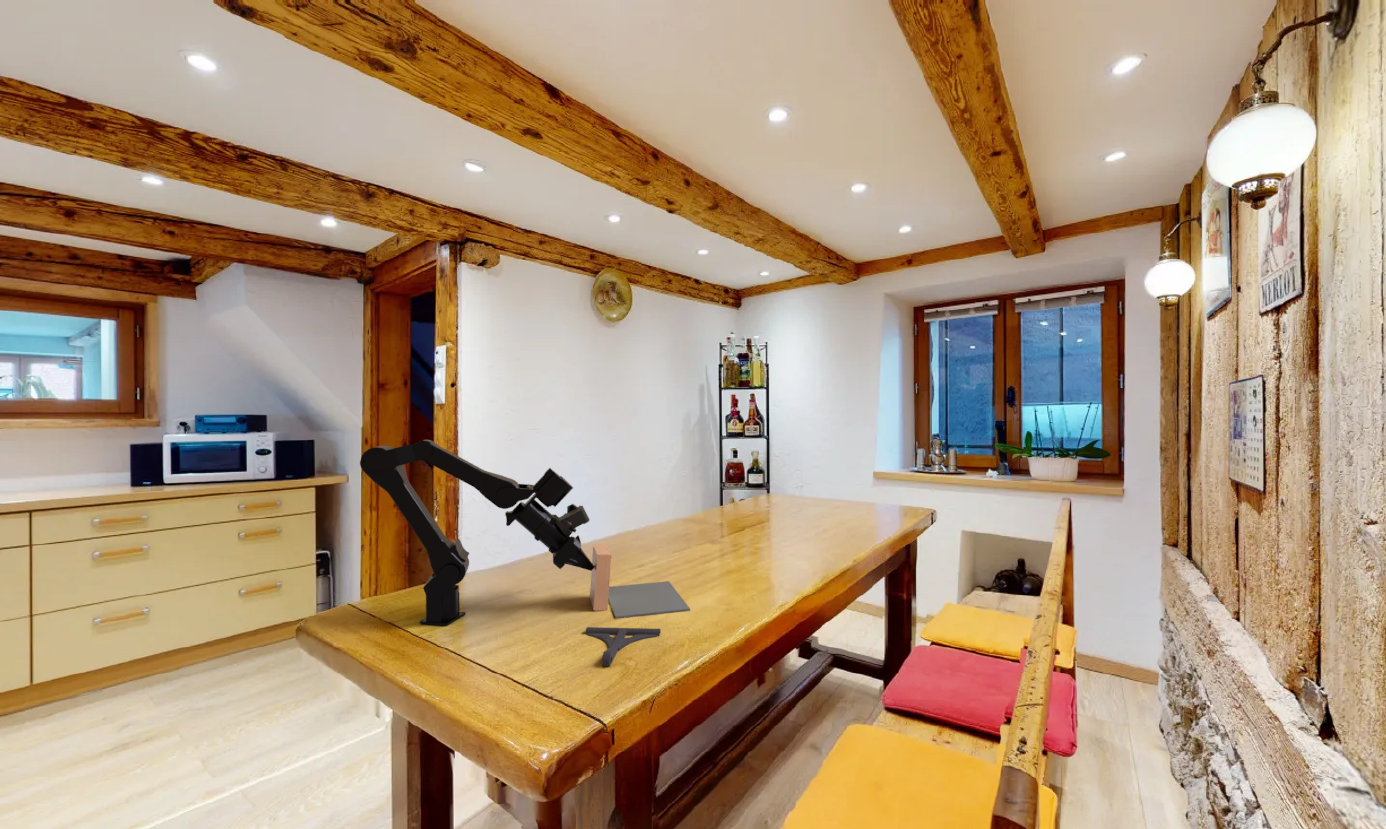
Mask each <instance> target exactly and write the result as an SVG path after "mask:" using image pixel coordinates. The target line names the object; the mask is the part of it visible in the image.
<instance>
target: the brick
mask: <svg viewBox="0 0 1386 829" xmlns="http://www.w3.org/2000/svg"><path fill="white" fill-rule="evenodd" d="M591 558H592V559H591V563H592V564H593V565H594V569H593V570H592V571H591V573H590V574H591V575H590V589H589V599H590V603H591V605H592V609H593V611H608V610H609V609H608V608H609V600H608V597H609V587H610V581H611V580H610V579H611V565H612V563H611V562H612V553H611V552H610V549H609V548H608V546H607V544H593V545H592V557H591Z"/></svg>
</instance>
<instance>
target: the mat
mask: <svg viewBox="0 0 1386 829" xmlns="http://www.w3.org/2000/svg"><path fill="white" fill-rule="evenodd" d="M608 599H609V600H608V603H609V605H610V607H612V608H611V610H612V612H613V615H614V618H615V619H616V618H617V619H625V618H624V617H626V618H632V617H633V616H634V617H633V618H635V617H645V616H653V615H662V614H670V613H671V614H672V613H678V612H679V613H681V612H688V611H691V607H690V606H689V605H688V604H687V603H686V601H685V600H684V599H683V597H682V595H680V594H679V592H678V590H676V588H675V587H674V586H673V584H672V583H671V582H670V580H668V581H667V580H666V581H655V582H647V583H646V582H645V583H636V584H623V585H615V586H614V585H613V586H609V597H608Z"/></svg>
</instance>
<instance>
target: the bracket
mask: <svg viewBox="0 0 1386 829" xmlns="http://www.w3.org/2000/svg"><path fill="white" fill-rule="evenodd" d="M661 632H662V631H661V628H646V627H645V628H643V627H642V628H641V627H639V628H638V627H602V626H601V627H596V626H586V629H585V635H587V636H591V637H594V638H596V639H599V640H601V641H603V642H604V643H606V645H607V646H608V648H607V649H606V650H604V651H603V654H602V661H601V664H602V665H601V666H602V667H603V668H610V667H611V665H612V663H613V661H614V659H615V657H616V655H617V654H618V652H619V651H620V650H622V649H623V648H624V647H627V646H628V645H630V644H632V643H635V642H638V641H642V640H646V639H652V638H657V637H660V634H661ZM613 636H615V637H613ZM626 636H629V637H626Z"/></svg>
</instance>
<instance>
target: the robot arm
mask: <svg viewBox="0 0 1386 829" xmlns="http://www.w3.org/2000/svg"><path fill="white" fill-rule="evenodd" d="M418 461H424V462H426V463H427V464H430V465H432V466H434V467H435V468H437V469H440V471H443V472H445V473H446V474H449V475H450V476H452V477H454V478H456V479H457V480H459V481H462V482H463V483H466V484H467V485H469V486H471V487H472V488H474V489H475V490H477V491H478V492H479V493H480V494H481V495H482V496H483V497H484V498H485V499H487V501H489V502H490V503H492V504H493V505H494V506H496V507H497V508H499V509H503V510H506V509H511V508H513V507H514V506H515V507H514V508H513V509H512V510H509V511H508V510H506V511H505V514H504V515H505V517H506V523H505V525H506V527H509V526H511V524H513V522H514V521H516V522H517V523H518V524H520V525H521V526H522V527H523V528H524V529H525V530H527V531H528V532H529V533H530V534H531V535H533V537H534V540H535V541H537V542H539V541H540V543H542V544H543V545H544V546H545V547H547V548H548V552H549V553H551V554H552V563H553V565H555V566H556V567H557V568H558V569H560V570H561V569H562V568H563V567H564V566H565V565H568V566H571V567H572V566H573V567H577V568H580V569H584V570H586V571H592V570H593V569H594V565H593V564H592V560H590V559H589V557H588V556H587V555H586V553H585V552H584V550H583V549H582V541H581V538H580V536H579V534H577V536H571V535H572V534H573V533H574V534H575V533H576V531H577V528H578V527H580V526H582V525H585V524H588V523H589V522H590V518H589V516H588V514H587V511H586V509H585V508H584V506H583V505H578V506H577V505H576V504H574V503H571V504H569V505H567V507H566V510H567V511H566V512H565V513H564V514H563V515H561V516H558V515H557V514H552V513H551V512H550V511H548V510H547V509H546V508H551V507H554V508H556V507H557V506H558V505H559V503H561V502H562V500H563V499H564V498H566V497H567V495H568V494H569V493H570V492H571V491H572V490H573V489H574V487H573V486H572V484H571V483H569V481H567V479H566V478H564V477H563V476H562V475H559V474H558V473H557V472H556V471H554V470H553V469H552V468H550V467H549V468H548V469H547V470H546V471H545V472H544V473H543V475H542V476H541V478H539V479H538V480H537V481H536V482H535V484H529V483H528V484H527V483H526V484H525V483H519V482H518V481H516V480H515V479H514V478H511V477H507V476H503V475H501V474H497V473H494V472H491V471H487V470H484V469H482V468H480V467H479V466H478V465H475V464H473V463H471V462H470V461H468V460H466V459H464V458H463V457H460V456H458V455H457V454H456V453H455V454H454V453H453V452H451V451H449V450H447V449H446V448H443V447H442V446H440V445H438V444H437V443H436V442H435V441H433V440H431V439H423V440H420V441H419V440H418V441H417V442H415V443H410V444H406V445H403V446H398V447H393V446H389V445H378V446H375V447H371V448H368V449H367V450H365V451H364V452H363V453H362V455H361V457H360V461H359V467H360V468H361V471H363V472H364V473H365V475H366V476H368V478H370V480H371V481H372V482H374V484H376V485H377V486H379V487H380V488H381V489H382V490H384V491H385V492H387V494H388V495H389V497H390V498H391V500H392V501H393V503H394V504H395V505H396V507H397V508H398V510H399V511H400V513H401V514H402V516H403V517H404V519H405V520H406V522H407V523H408V524H409V526H410V528H411V529H412V531H413V532H414V533H415V535H416V537H417V538H418V540H419V541H420V542H421V544H422V546H423V547H424V548H425V550H426V553H427V557H428V560H429V564H430V568H431V569H432V571H433V573H432V574H431V575H430V577H429V578H428V580H427V581H426V582H425V584H424V586H423V588H422V589H423V592H424V594H425V617H424V618H422V619H420V620H419V624H423V625H424V624H425V625H435V626H436V625H437V626H448V625H451V624H452V623H454V622H455V621H457V620H459V619H460V618H462V617H464V616H466V611H460V591H459V590H460V589H459V588H460V586H459V584H460V583H461V582H462V581H463V580H464V578H465V576H466V574H467V572H468V570H469V566H470V559H469V555H470V552H469V551H467V550H466V549H465V548H464V546H463V544H462V542H461V540H460V538H457V539H456V540H454V542H453V541H452V540H451V539H449V538H448V537H447V536H446V535H445V534H444V532H443V530H442V529H441V528H440V526H439V524H438V523H437V521H435V518H434V517H433V516H432V514H431V513H430V512H429V510H428V508H427V507H426V505H425V504H424V502H423V501H422V499H421V498H420V496H419V494H418V493H417V492H416V490H415V489H414V487H413V486H412V484H411V483H410V481H409V478H408V475H407V471H406V466H405V465H407V464H411V463H414V462H418ZM536 499H537V500H538V501H539V502H538V501H537V500H536ZM525 500H527V501H526V502H525V503H524V502H522V501H525ZM518 502H519V503H518ZM540 503H541V504H543V505H544V506H545V507H546V508H545V507H544V506H543V505H541V504H540Z"/></svg>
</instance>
